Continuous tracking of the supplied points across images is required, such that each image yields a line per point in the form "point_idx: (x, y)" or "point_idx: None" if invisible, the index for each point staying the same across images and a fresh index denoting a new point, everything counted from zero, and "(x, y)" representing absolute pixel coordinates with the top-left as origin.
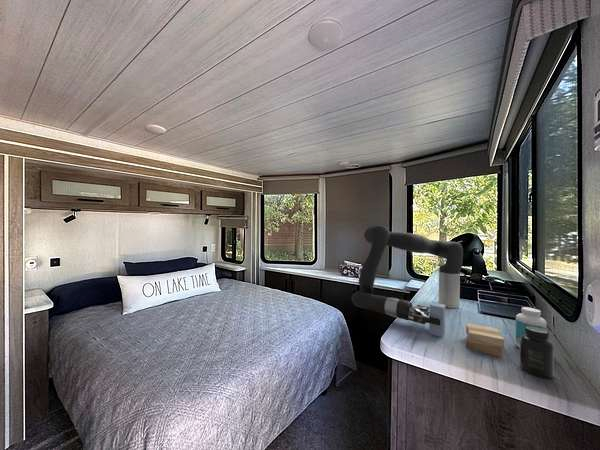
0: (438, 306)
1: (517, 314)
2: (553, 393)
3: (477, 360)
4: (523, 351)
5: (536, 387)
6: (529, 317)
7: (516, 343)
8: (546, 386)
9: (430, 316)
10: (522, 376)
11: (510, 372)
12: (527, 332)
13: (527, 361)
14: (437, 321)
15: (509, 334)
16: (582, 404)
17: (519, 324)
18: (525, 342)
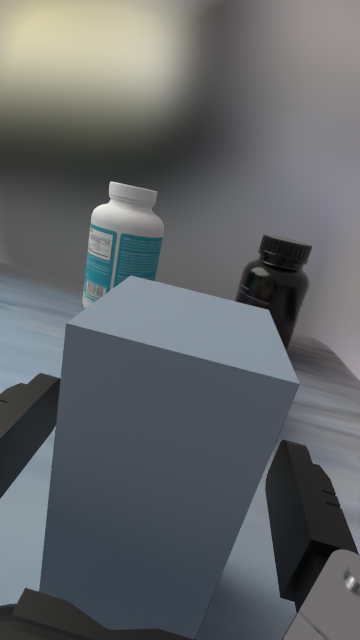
0: (265, 326)
1: (116, 214)
2: (333, 360)
3: (332, 437)
4: (290, 315)
5: (340, 372)
6: (152, 214)
7: None
8: (314, 358)
9: (234, 529)
10: (312, 374)
11: (318, 387)
12: (301, 256)
13: (290, 334)
14: (320, 475)
15: (5, 302)
16: (327, 346)
17: (140, 247)
18: (303, 287)
